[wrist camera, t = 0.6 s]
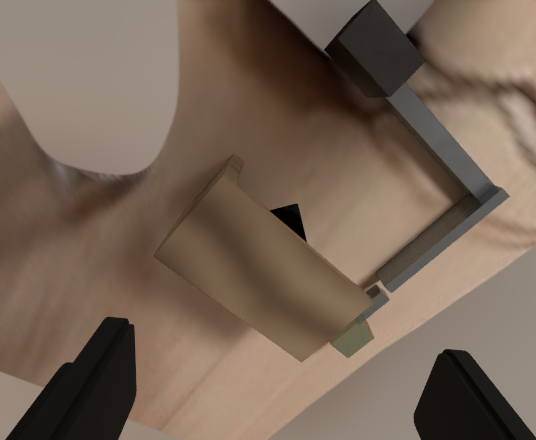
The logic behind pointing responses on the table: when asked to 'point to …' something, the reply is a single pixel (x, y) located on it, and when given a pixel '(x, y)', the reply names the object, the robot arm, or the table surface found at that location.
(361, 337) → the pale green block
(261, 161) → the table surface
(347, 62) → the grey angular bent frame
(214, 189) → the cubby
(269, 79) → the table surface
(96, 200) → the table surface
